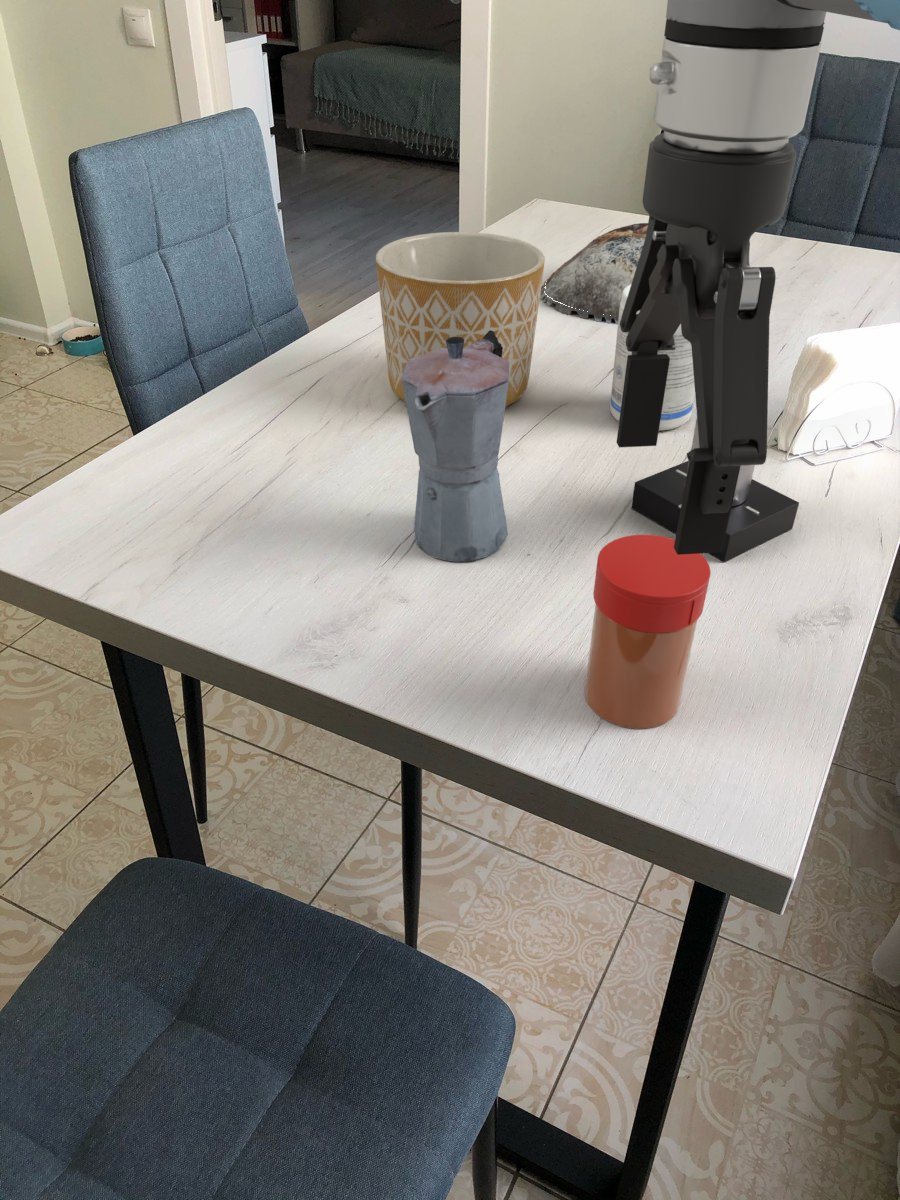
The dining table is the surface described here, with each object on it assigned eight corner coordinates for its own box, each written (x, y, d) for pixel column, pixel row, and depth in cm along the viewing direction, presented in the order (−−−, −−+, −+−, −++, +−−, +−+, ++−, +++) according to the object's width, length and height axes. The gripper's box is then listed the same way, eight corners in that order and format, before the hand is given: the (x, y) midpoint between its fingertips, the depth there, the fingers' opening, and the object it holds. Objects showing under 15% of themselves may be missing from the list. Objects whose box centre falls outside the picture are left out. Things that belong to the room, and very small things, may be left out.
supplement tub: (700, 410, 113) (722, 287, 104) (674, 441, 106) (695, 313, 97) (624, 393, 117) (639, 273, 108) (595, 422, 110) (608, 296, 101)
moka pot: (379, 565, 86) (369, 355, 74) (445, 488, 97) (446, 295, 85) (476, 589, 83) (482, 374, 71) (532, 507, 94) (546, 310, 82)
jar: (699, 703, 71) (727, 579, 64) (632, 743, 68) (653, 616, 61) (631, 654, 76) (650, 533, 69) (565, 688, 72) (578, 565, 65)
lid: (727, 607, 66) (735, 571, 64) (650, 647, 62) (656, 611, 60) (646, 557, 71) (652, 523, 69) (570, 592, 67) (574, 557, 65)
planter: (565, 405, 114) (577, 266, 104) (422, 437, 106) (420, 291, 97) (488, 350, 127) (492, 224, 118) (357, 376, 120) (349, 243, 110)
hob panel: (793, 528, 91) (800, 500, 89) (723, 563, 86) (729, 534, 85) (699, 479, 99) (704, 452, 97) (630, 508, 94) (634, 480, 92)
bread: (770, 328, 135) (785, 257, 129) (544, 324, 136) (548, 254, 130) (729, 269, 157) (741, 206, 151) (535, 266, 158) (538, 204, 152)
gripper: (596, 96, 58) (567, 411, 71) (739, 198, 38) (663, 611, 51) (713, 95, 59) (664, 407, 72) (914, 195, 39) (796, 603, 52)
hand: (664, 493), depth 61 cm, fingers open, 13 cm apart
